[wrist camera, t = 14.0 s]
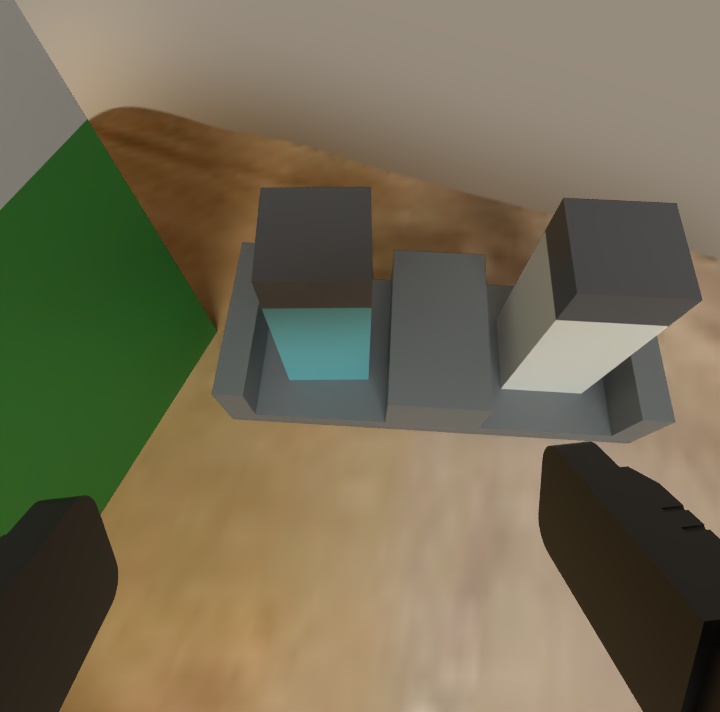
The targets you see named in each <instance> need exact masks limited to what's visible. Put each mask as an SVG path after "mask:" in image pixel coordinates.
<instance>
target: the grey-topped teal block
mask: <svg viewBox="0 0 720 712" xmlns="http://www.w3.org/2000/svg"><path fill="white" fill-rule="evenodd" d="M251 282H252V284H253V287H254V290H255V292H256V295H257V297H258V300H259V303H260V305H261V308H262V310H263V313H264V316H265V318H266V321H267V323H268V326H269V328H270V331H271V334H272V336H273V339H274V341H275V344H276V347H277V349H278V352H279V354H280V357H281V360H282V362H283V365H284V367H285V370H286V372H287V375H288V378H289V380H366V379H369V355H370V332H371V309H372V285H373V270H372V225H371V187H294V188H261V190H260V199H259V209H258V219H257V229H256V239H255V249H254V259H253V269H252V278H251Z"/></svg>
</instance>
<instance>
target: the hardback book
mask: <svg viewBox="0 0 720 712" xmlns="http://www.w3.org/2000/svg"><path fill="white" fill-rule="evenodd" d="M216 332H217V330H216V328H215V326H214V325H213V323H212V321H211V320H210V318H209V317H208V315H207V313H206V312H205V310H204V308H203V307H202V305H201V303H200V302H199V300H198V299H197V297H196V295H195V294H194V292H193V290H192V289H191V287H190V286H189V284H188V282H187V281H186V279H185V277H184V276H183V274H182V273H181V271H180V269H179V268H178V266H177V264H176V263H175V261H174V260H173V258H172V256H171V255H170V253H169V251H168V250H167V248H166V246H165V245H164V243H163V242H162V240H161V238H160V237H159V235H158V233H157V232H156V230H155V229H154V227H153V225H152V224H151V222H150V220H149V219H148V217H147V216H146V214H145V212H144V211H143V209H142V207H141V206H140V204H139V202H138V201H137V199H136V198H135V196H134V194H133V193H132V191H131V189H130V188H129V186H128V185H127V183H126V181H125V180H124V178H123V176H122V175H121V173H120V172H119V170H118V168H117V167H116V165H115V163H114V162H113V160H112V158H111V157H110V155H109V154H108V152H107V150H106V149H105V147H104V145H103V144H102V142H101V141H100V139H99V137H98V136H97V134H96V132H95V131H94V129H93V128H92V126H91V124H90V123H89V121H88V119H87V118H86V116H85V114H84V113H83V111H82V110H81V108H80V106H79V105H78V103H77V101H76V100H75V98H74V97H73V95H72V93H71V92H70V90H69V88H68V87H67V85H66V84H65V82H64V81H63V79H62V77H61V75H60V74H59V72H58V70H57V69H56V67H55V66H54V64H53V62H52V61H51V59H50V57H49V56H48V54H47V53H46V51H45V50H44V48H43V46H42V45H41V43H40V41H39V40H38V38H37V36H36V35H35V33H34V31H33V30H32V28H31V27H30V25H29V23H28V22H27V20H26V18H25V17H24V15H23V13H22V12H21V10H20V9H19V7H18V5H17V4H16V2H15V1H14V0H0V537H1V536H3V535H7V533H8V532H9V531H10V530H11V529H12V528H13V527H14V526H15V524H16V523H17V522H18V521H19V520H20V519H21V518H22V516H23V515H24V514H25V513H26V512H27V511H28V510H29V509H30V507H31V506H32V505H33V504H35V503H36V502H38V501H40V500H47V499H57V498H66V497H75V496H84V495H87V496H90V497H91V498H92V499H93V500H94V501H95V503H96V505H97V507H98V510H99V513H100V514H101V513H102V511H103V510H104V508H105V507H106V505H107V503H108V502H109V500H110V499H111V497H112V496H113V494H114V492H115V491H116V489H117V488H118V486H119V485H120V483H121V481H122V480H123V478H124V477H125V475H126V474H127V472H128V470H129V469H130V467H131V466H132V464H133V463H134V461H135V460H136V458H137V456H138V455H139V453H140V452H141V450H142V449H143V447H144V445H145V444H146V442H147V441H148V439H149V438H150V436H151V434H152V433H153V431H154V430H155V428H156V427H157V425H158V423H159V422H160V420H161V419H162V417H163V416H164V414H165V412H166V411H167V409H168V408H169V406H170V405H171V403H172V401H173V400H174V398H175V397H176V395H177V394H178V392H179V390H180V389H181V387H182V386H183V384H184V383H185V381H186V379H187V378H188V376H189V375H190V373H191V372H192V370H193V368H194V367H195V365H196V364H197V362H198V361H199V359H200V357H201V356H202V354H203V353H204V351H205V350H206V348H207V346H208V345H209V343H210V342H211V340H212V339H213V337H214V335H215V334H216Z"/></svg>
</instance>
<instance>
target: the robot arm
mask: <svg viewBox="0 0 720 712" xmlns="http://www.w3.org/2000/svg"><path fill="white" fill-rule="evenodd" d="M539 527H540V532H541V536H542V539H543V542H544V545H545V547H546V550H547V551H548V553H549V555H550V557H551V558H552V560H553V562H554V563H555V565H556V567H557V568H558V570H559V572H560V573H561V575H562V577H563V578H564V580H565V582H566V583H567V585H568V587H569V588H570V590H571V592H572V594H573V595H574V597H575V599H576V600H577V602H578V604H579V605H580V607H581V609H582V610H583V612H584V614H585V615H586V617H587V619H588V620H589V622H590V624H591V625H592V627H593V629H594V630H595V632H596V634H597V635H598V637H599V639H600V640H601V642H602V644H603V645H604V647H605V649H606V650H607V652H608V654H609V655H610V657H611V659H612V660H613V662H614V664H615V665H616V667H617V669H618V670H619V672H620V674H621V675H622V677H623V679H624V680H625V682H626V684H627V685H628V687H629V689H630V690H631V692H632V694H633V695H634V697H635V699H636V700H637V702H638V704H639V706H640V707H641V709H642V711H643V712H720V539H719V538H718V537H717V536H716V535H715V534H714V533H713V532H712V531H711V530H706V529H705V527H704V524H703V523H702V522H701V521H700V520H699V519H698V518H696V517H695V516H694V515H693V514H692V513H691V512H690V511H689V510H684V508H683V505H682V504H681V503H680V502H679V501H678V500H677V499H676V498H675V497H674V496H672V495H671V494H670V493H669V492H668V491H667V490H666V489H665V488H664V487H663V486H661V485H660V484H659V483H657V482H656V481H654V480H652V479H650V478H648V477H646V476H644V475H643V474H641V473H639V472H637V471H635V470H633V469H631V468H629V467H619V466H618V465H617V464H616V463H615V462H614V461H613V460H612V459H611V458H610V457H609V456H608V455H607V454H606V453H604V452H603V451H602V450H601V449H600V448H599V447H598V446H597V445H596V444H595V443H593V442H581V443H571V444H562V445H553V446H548V447H547V448H546V449H545V451H544V454H543V461H542V475H541V488H540V502H539ZM117 585H118V567H117V563H116V559H115V556H114V553H113V551H112V548H111V545H110V542H109V539H108V536H107V533H106V530H105V527H104V524H103V521H102V519H101V516H100V513H99V510H98V507H97V505H96V503H95V501H94V500H93V499H92V498H91V497H90V496H87V495H84V496H75V497H66V498H57V499H47V500H40V501H38V502H36V503H35V504H33V505H32V506H31V507H30V509H29V510H28V511H27V512H26V513H25V514H24V515H23V516H22V518H21V519H20V520H19V521H18V522H17V523H16V524H15V526H14V527H13V528H12V529H11V530H10V531H9V532H8V533H7V535H3V536H1V537H0V712H59V710H60V708H61V706H62V704H63V702H64V700H65V698H66V696H67V694H68V692H69V690H70V688H71V686H72V684H73V682H74V680H75V678H76V676H77V674H78V672H79V670H80V668H81V666H82V664H83V662H84V660H85V658H86V656H87V653H88V651H89V649H90V647H91V645H92V643H93V641H94V639H95V637H96V635H97V633H98V631H99V629H100V627H101V625H102V623H103V621H104V619H105V617H106V615H107V613H108V611H109V609H110V607H111V605H112V603H113V600H114V597H115V594H116V590H117Z"/></svg>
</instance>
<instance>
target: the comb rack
mask: <svg viewBox="0 0 720 712" xmlns="http://www.w3.org/2000/svg"><path fill="white" fill-rule="evenodd" d="M254 249H255V243H246V242H242V247H241V252H240V257H239V262H238V267H237V272H236V277H235V282H234V287H233V292H232V297H231V302H230V307H229V311H228V316H227V321H226V326H225V331H224V336H223V341H222V346H221V351H220V356H219V361H218V366H217V371H216V376H215V381H214V386H213V391H212V395H213V396H214V397H215V399H216V400H217V401H218V402H219V403H220V404H221V405H222V407H223V408H224V409H225V410H226V411H227V412H228V413H229V415H230V416H231V417H232V418H233V419H241V420H258V421H274V422H290V423H307V424H323V425H339V426H356V427H372V428H388V429H405V430H421V431H437V432H454V433H470V434H486V435H503V436H519V437H535V438H552V439H568V440H584V441H601V442H617V443H630V442H632V441H635V440H637V439H639V438H641V437H644V436H646V435H648V434H650V433H652V432H655V431H657V430H659V429H661V428H663V427H666V426H668V425H670V424H672V423H675V419H674V414H673V409H672V405H671V400H670V395H669V391H668V386H667V381H666V377H665V372H664V367H663V363H662V358H661V353H660V349H659V344H658V339H657V336H655V337H654V338H653V339H651V340H650V341H649V342H648V343H646V344H645V345H644V346H642V347H641V348H640V349H638V350H637V351H636V352H635V353H633V354H632V355H631V356H629V357H628V358H627V359H625V360H624V361H623V362H622V363H620V364H619V365H618V366H616V367H615V368H614V369H613V370H611V371H610V372H609V373H607V374H606V375H605V376H603V377H602V378H601V379H600V380H598V381H597V382H596V383H594V384H593V385H592V386H591V387H589V388H588V389H587V390H585V391H584V392H583V393H581V394H580V393H563V392H546V391H529V390H512V389H501V384H500V368H499V351H498V335H497V317H498V315H499V313H500V311H501V310H502V308H503V306H504V304H505V302H506V301H507V299H508V297H509V295H510V293H511V292H512V290H513V288H514V286H495V285H486V266H485V255H480V254H461V253H441V252H422V251H402V250H394V258H393V267H392V276H391V280H382V279H373V285H372V309H371V332H370V355H369V379H366V380H289V378H288V375H287V372H286V370H285V367H284V365H283V362H282V360H281V357H280V354H279V352H278V349H277V347H276V344H275V341H274V339H273V336H272V334H271V331H270V328H269V326H268V323H267V321H266V318H265V316H264V313H263V310H262V308H261V305H260V303H259V300H258V297H257V295H256V292H255V290H254V287H253V284H252V282H251V278H252V269H253V259H254Z"/></svg>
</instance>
